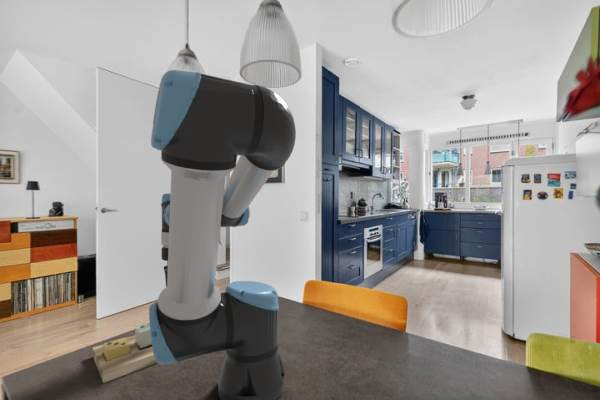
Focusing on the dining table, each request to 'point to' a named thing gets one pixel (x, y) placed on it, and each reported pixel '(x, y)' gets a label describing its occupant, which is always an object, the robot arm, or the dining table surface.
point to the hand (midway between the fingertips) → (175, 324)
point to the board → (123, 361)
